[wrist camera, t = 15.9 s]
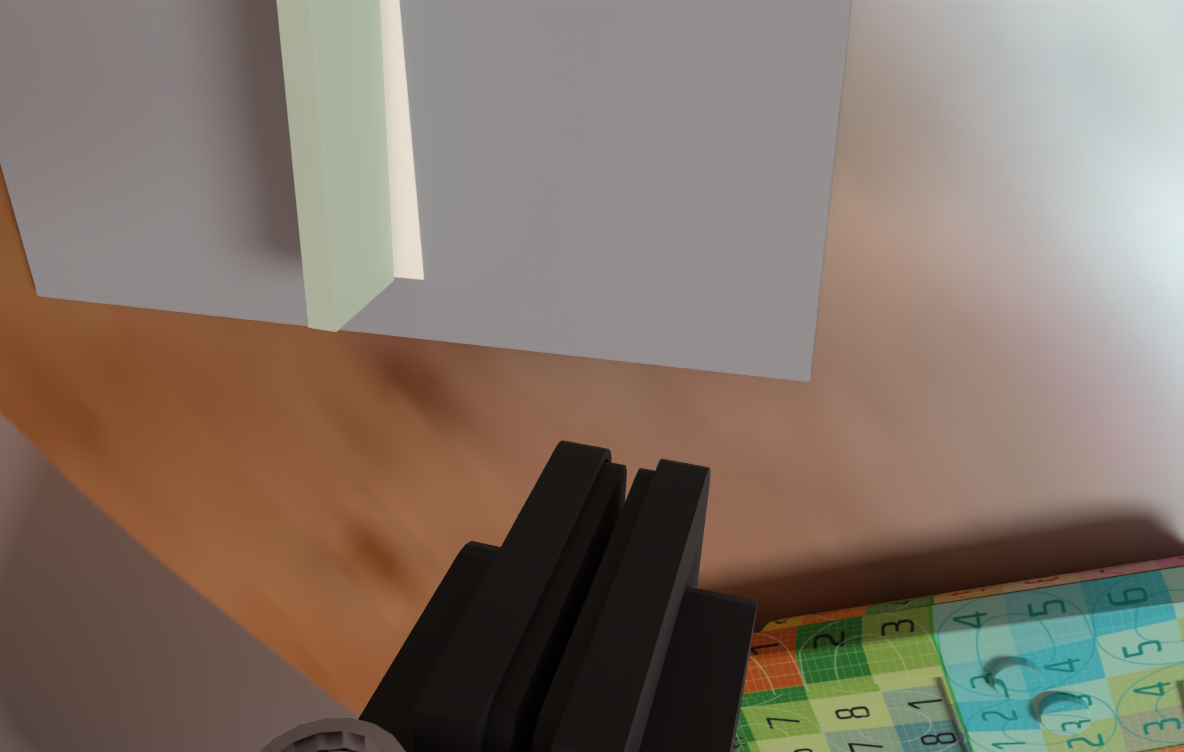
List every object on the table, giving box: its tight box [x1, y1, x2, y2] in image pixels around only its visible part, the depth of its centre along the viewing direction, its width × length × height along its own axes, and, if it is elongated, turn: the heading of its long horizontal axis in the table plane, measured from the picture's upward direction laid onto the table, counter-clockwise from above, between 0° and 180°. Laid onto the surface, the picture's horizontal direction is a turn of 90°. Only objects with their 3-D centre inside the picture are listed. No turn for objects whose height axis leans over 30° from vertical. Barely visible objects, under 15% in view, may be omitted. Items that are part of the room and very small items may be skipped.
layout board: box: [0, 0, 852, 382], centre depth 31 cm, size 24×32×6 cm
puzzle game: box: [733, 555, 1184, 752], centre depth 38 cm, size 12×5×20 cm
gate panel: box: [276, 0, 394, 332], centre depth 32 cm, size 1×14×5 cm, turn 178°
